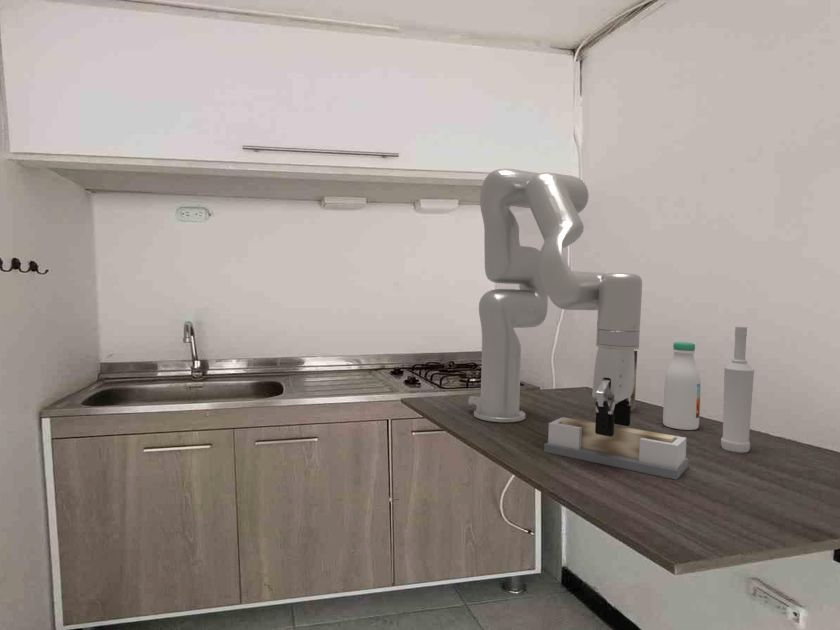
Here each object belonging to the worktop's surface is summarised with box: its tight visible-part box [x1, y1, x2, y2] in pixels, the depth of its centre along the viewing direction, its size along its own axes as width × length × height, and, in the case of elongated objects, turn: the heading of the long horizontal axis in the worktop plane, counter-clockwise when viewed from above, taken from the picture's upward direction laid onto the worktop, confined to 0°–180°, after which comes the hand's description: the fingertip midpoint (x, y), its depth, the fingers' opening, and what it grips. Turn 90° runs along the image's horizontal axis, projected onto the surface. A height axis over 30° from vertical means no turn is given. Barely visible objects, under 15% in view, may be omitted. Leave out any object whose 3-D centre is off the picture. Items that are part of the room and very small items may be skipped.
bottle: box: [720, 326, 755, 454], centre depth 111 cm, size 5×5×25 cm
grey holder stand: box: [543, 416, 690, 481], centre depth 103 cm, size 24×9×6 cm, turn 53°
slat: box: [562, 417, 676, 458], centre depth 102 cm, size 20×3×4 cm, turn 53°
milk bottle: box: [662, 341, 701, 431], centre depth 129 cm, size 8×8×20 cm
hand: (613, 429), depth 103 cm, fingers open, 9 cm apart
